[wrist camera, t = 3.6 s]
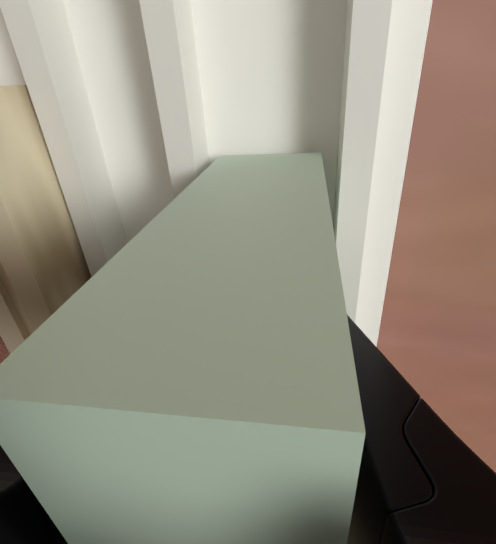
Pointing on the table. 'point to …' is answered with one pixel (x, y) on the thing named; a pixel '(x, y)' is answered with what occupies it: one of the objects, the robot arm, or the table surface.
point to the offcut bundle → (32, 225)
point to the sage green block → (200, 374)
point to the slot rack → (223, 108)
